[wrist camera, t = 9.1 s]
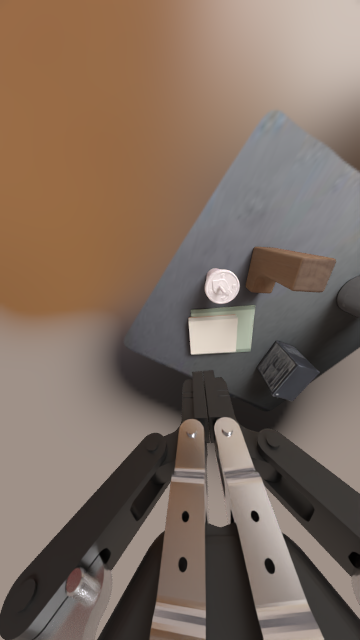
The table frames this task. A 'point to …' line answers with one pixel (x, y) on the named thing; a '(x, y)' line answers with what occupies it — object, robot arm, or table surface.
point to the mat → (243, 327)
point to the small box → (286, 371)
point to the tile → (213, 334)
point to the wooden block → (288, 270)
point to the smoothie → (221, 286)
